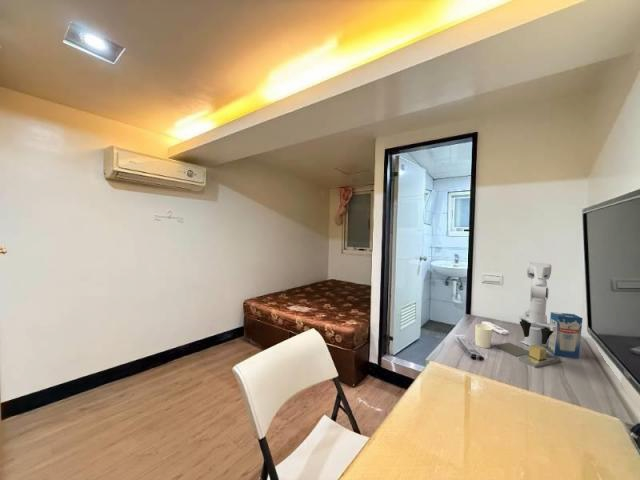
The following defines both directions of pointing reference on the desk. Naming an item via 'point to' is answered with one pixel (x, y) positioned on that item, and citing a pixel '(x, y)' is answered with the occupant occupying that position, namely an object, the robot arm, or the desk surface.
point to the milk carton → (565, 335)
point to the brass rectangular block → (537, 352)
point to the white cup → (483, 335)
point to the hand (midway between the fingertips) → (535, 340)
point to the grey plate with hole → (535, 363)
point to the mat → (512, 349)
